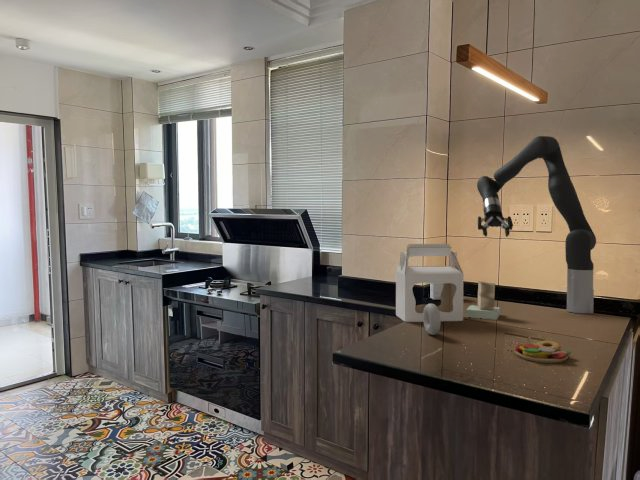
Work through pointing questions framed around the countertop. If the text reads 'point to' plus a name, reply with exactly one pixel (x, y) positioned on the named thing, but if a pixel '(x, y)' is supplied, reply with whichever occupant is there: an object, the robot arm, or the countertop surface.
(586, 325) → the countertop surface
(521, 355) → the toy food set
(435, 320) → the donut
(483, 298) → the maple block
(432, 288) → the supplement box
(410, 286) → the gable box
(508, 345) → the countertop surface
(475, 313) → the base slab
